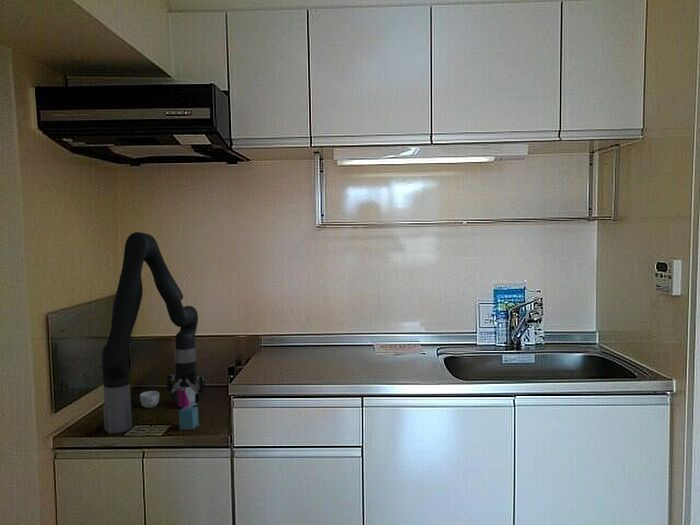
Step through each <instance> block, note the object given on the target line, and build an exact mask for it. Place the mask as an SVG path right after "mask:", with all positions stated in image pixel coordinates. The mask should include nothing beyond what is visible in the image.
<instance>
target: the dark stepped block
mask: <svg viewBox="0 0 700 525" xmlns="http://www.w3.org/2000/svg"><path fill="white" fill-rule="evenodd" d="M197 426H198V427H199V426H201V425H200V423H198V425H197ZM197 426H196V427H197ZM196 427H195V428H196ZM198 427H197V428H198ZM195 428H193V429H180V427H178V431H187V430H194V429H195ZM197 428H196V429H197ZM196 429H195V430H196ZM195 430H194V431H195Z"/></svg>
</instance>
